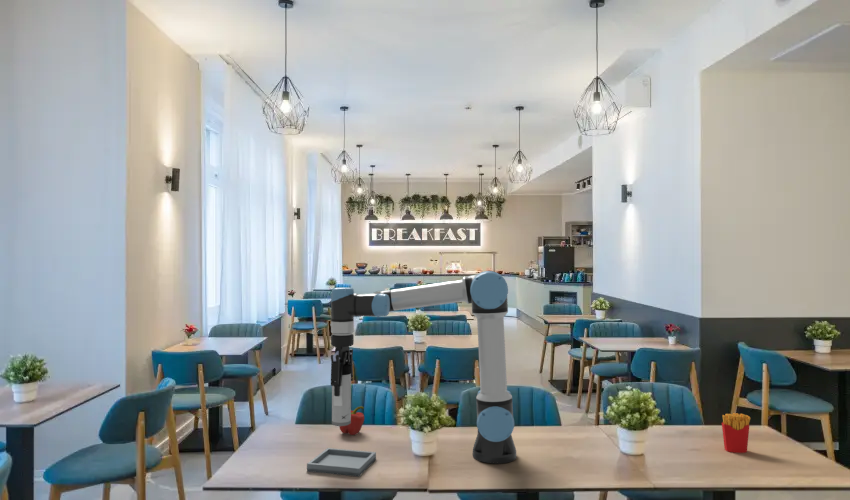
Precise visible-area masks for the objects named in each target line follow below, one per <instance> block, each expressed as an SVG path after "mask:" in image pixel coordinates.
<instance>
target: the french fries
mask: <svg viewBox="0 0 850 500" xmlns="http://www.w3.org/2000/svg"><path fill="white" fill-rule="evenodd" d="M750 422H751V417H750V416H749V415H747V414H744V413H738V412H737V413H736V412H733V413H725V415H724V414H722V422H721V428H722V429H721V430H722V436H723V437H722V438H723V447H724V450H725V451H726V452H729V453H740V454H741V453H742V454H744V453H747V452H748V445H749V444H748V443H749V436H750V435H749V433H750Z"/></svg>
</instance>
